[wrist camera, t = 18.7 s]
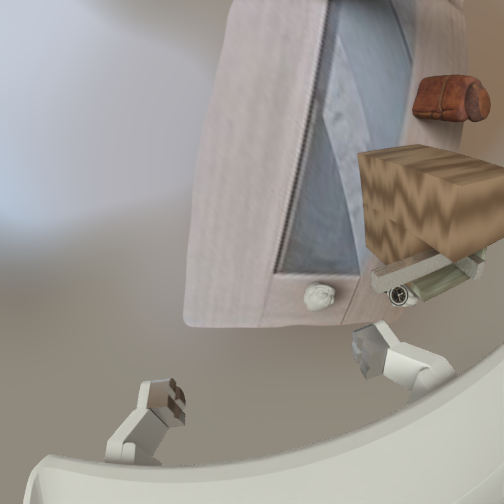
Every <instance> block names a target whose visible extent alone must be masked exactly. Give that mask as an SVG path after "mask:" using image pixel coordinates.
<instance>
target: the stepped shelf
mask: <svg viewBox="0 0 504 504" xmlns="http://www.w3.org/2000/svg"><path fill="white" fill-rule="evenodd" d="M357 155H358V162H359V170H360V178H361V187H362V196H363V208H364V221H365V237H366V247H367V248H368V249H369V250H370V251H371V252H373V253H374V254H375V255H376V256H377V257H378V258H379V259H380V260H381V261H382V262H383V263H385V264H386V265H389V264H392V263H395V262H397V261H400V260H403V259H406V258H408V257H411V256H414V255H416V254H419V253H422V252H424V251H427V250H429V249H432V248H434V249H435V250H437V251H438V252H440V253H441V254H442V255H444V256H445V257H446V258H448V259H449V260H450V261H452V262H453V263H454V262H457V261H459V260H461V259H463V258H465V257H467V256H469V255H471V254H473V253H475V254H476V255H478V256H479V257H481V258H482V259H483V260H485V255H486V250H487V246H489V245H491V244H493V243H495V242H496V241H498V240H500V239H502V238H504V168H503V167H500V166H497V165H495V164H491V163H488V162H485V161H482V160H479V159H476V158H472V157H469V156H465V155H461V154H458V153H454V152H450V151H446V150H442V149H438V148H433V147H429V146H424V145H419V144H417V145H409V146H401V147H394V148H387V149H380V150H374V151H368V152H362V153H357ZM453 263H451V264H449V265H447V266H445V267H443V268H440V269H438V270H436V271H434V272H431V273H429V274H427V275H424V276H422V277H420V278H417V279H415V280H413V281H410V282H408V283H405V284H406V285H407V286H408V287H410V288H411V289H412V290H413V291H414V292H415V293H416V294H417V295H418V297H419V298H420V299H422V300H423V301H424V302H425V301H427V300H429V299H431V298H432V297H435V296H437V295H439V294H441V293H443V292H445V291H447V290H449V289H451V288H453V287H455V286H457V285H459V284H460V283H462V282H464V281H466V280H468V279H469V278H471V277H469V276H468V275H467V274H466V273H464V272H463V271H462V270H461V269H459V268H458V267H457V266H455V265H454V264H453Z"/></svg>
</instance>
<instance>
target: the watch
mask: <svg viewBox="0 0 504 504" xmlns="http://www.w3.org/2000/svg"><path fill="white" fill-rule="evenodd" d="M385 293H387V295H388V296H389V300H390V301H391V303H392V304H393V306H404V307H407V306H415V305H416V303H417V301H418V300H419V297H418V295H417V294H416V293H415V292H414V291H413V290H412V289H411V288H410V287H408V286H407V285H406V284H403V285H400V286H398V287H395V288H393V289H390V290H388V291H385Z"/></svg>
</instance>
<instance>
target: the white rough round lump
mask: <svg viewBox="0 0 504 504" xmlns="http://www.w3.org/2000/svg"><path fill="white" fill-rule="evenodd" d="M335 293H336V291H335V289H333V288H332V286H330V285H325V284H322V283H319V282H314V283H311V284H310V285H308V286H307V288H306V290H305V294H304V302H305V304H306V305H307V308H308V310H310V311H319V310H322V309H325V308H327V307H328V306H329V305H332V304H333V303H334V301H335V300H334V297H335Z"/></svg>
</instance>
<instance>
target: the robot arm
mask: <svg viewBox="0 0 504 504" xmlns="http://www.w3.org/2000/svg"><path fill="white" fill-rule="evenodd" d="M352 339H353V340H354V341H353V343H352V352H353V356H354V359H355V361H356V362H357V363H359V364H361V368H360V369H361V372H362V374H363V375H364V377H365V379H366V380H368V379H370V378H373V377H376V376H378V375H380V374H383V375H385V376H386V377H388V378H390V379H391V380H393V381H395V382H396V383H398V384H400V385H401V386H403V387H405V388H407V389H408V390H410V391H412V392H411V394H410V397H409V399H408V401H407V404H408V406H406V407H404V408H402V409H400V410H398V411H395V412H394V413H391V414H389V415H387V416H385V417H383V418H380V419H378V420H376V421H374V422H371V423H369V424H366V425H364V426H362V427H359V428H356V429H354V430H351V431H348V432H346V433H343V434H340V435H338V436H335V437H331V438H328V439H325V440H323V441H319V442H316V443H312V444H309V445H305V446H302V447H298V448H294V449H290V450H286V451H282V452H278V453H273V454H269V455H264V456H258V457H253V458H247V459H241V460H235V461H227V462H218V463H209V464H197V465H180V466H179V465H178V466H162V463H161V462H160V461H158V460H157V459H155V458H154V457H152V456H153V455H154V453H155V451H156V450H157V448H158V446H159V444H160V443H161V441H162V439H163V438H164V436H165V434H166V433H167V431H168V429H169V427H178V426H185V413H184V412H183V411H182V410H183V409H184V407H185V405H186V401H185V396H184V393H183V391H182V390H181V388H179V387H177V386H176V381H175V380H174V379H173V378H170V379H162V380H152V381H144V382H142V384H141V387H140V392H139V398H138V404H137V410H134V411H133V412H132V413H131V414H130V415H129V416H128V418H127V419H126V420H125V421H124V422H123V424H122V425H121V426H120V427H119V428H118V430H117V431H116V432H115V433H114V434H113V435H112V437H111V438H110V439H109V440H108V442H107V449H106V455H105V461H104V463H102V462H94V461H87V460H81V459H75V458H70V457H64V456H60V455H55V454H50V455H48V456H46V457H45V458H44V459H43V460H42V461H41V462H40V463H39V464H38V465H37V466H36V467H35V468H34V469H33V470H32V472H31V474H30V477H29V480H28V483H27V487H26V492H25V496H24V502H23V504H504V342H502V343H501V344H500V345H499V346H498V347H497V348H495V349H494V350H493V351H491V352H490V353H489V354H488V355H487V356H485V357H484V358H482V359H481V360H480V361H478V362H477V363H476V364H474V365H473V366H472V367H470V368H469V369H467V370H466V371H464V372H463V373H462V374H460V375H459V376H458V375H457V374H456V372H455V371H454V369H453V368H452V367H451V365H450V364H449V363H448V362H447V360H446V359H445V358H444V357H442V356H439V355H437V354H434V353H431V352H429V351H426V350H424V349H421V348H418V347H416V346H413V345H411V344H408V343H406V342H402V343H401V342H400V341H399V340H398V338H397V337H396V336H395V334H394V333H393V332H392V330H391V329H390V328H389V326H388V325H387V324H386V322H385V321H383V320H381V321H378V322H376V323H373V324H370V325H368V326H365V327H363V328H360V329H358V330H355V331H353V332H352Z"/></svg>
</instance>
